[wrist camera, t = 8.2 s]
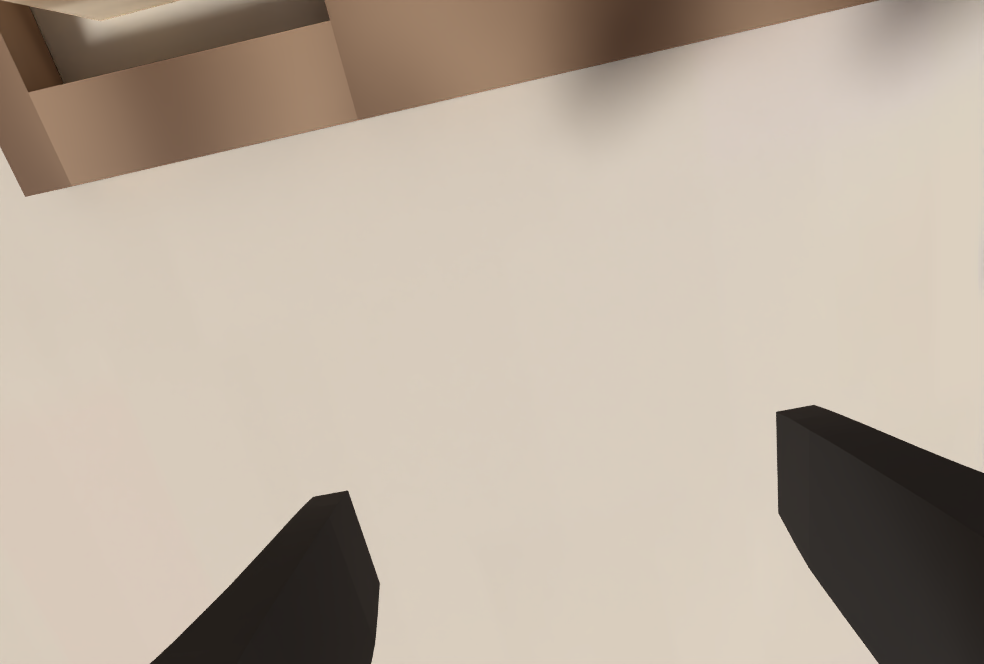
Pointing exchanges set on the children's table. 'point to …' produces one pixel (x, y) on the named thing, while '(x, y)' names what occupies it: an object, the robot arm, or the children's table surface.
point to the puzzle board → (325, 74)
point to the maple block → (93, 6)
